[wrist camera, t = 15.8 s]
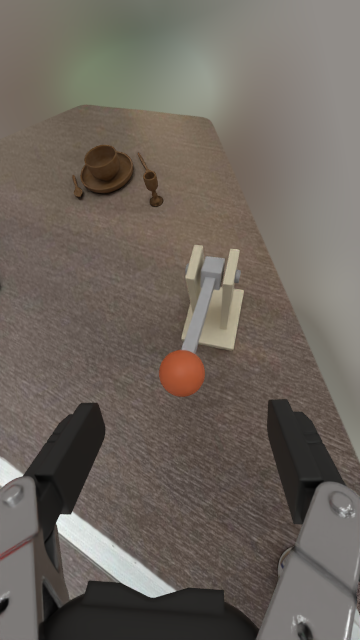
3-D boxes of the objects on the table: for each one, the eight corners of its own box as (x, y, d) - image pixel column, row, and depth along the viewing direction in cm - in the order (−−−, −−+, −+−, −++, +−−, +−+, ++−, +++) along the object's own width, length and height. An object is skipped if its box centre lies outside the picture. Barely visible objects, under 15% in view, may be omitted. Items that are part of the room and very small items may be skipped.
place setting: (138, 147, 58) (130, 119, 52) (167, 202, 50) (161, 176, 45) (69, 174, 57) (53, 149, 52) (88, 235, 50) (72, 212, 44)
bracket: (232, 351, 37) (243, 313, 23) (182, 341, 39) (164, 299, 25) (243, 293, 40) (257, 230, 27) (195, 286, 42) (186, 223, 28)
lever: (198, 409, 19) (199, 388, 16) (155, 397, 20) (149, 376, 17) (228, 280, 29) (232, 254, 27) (199, 276, 30) (200, 250, 27)
